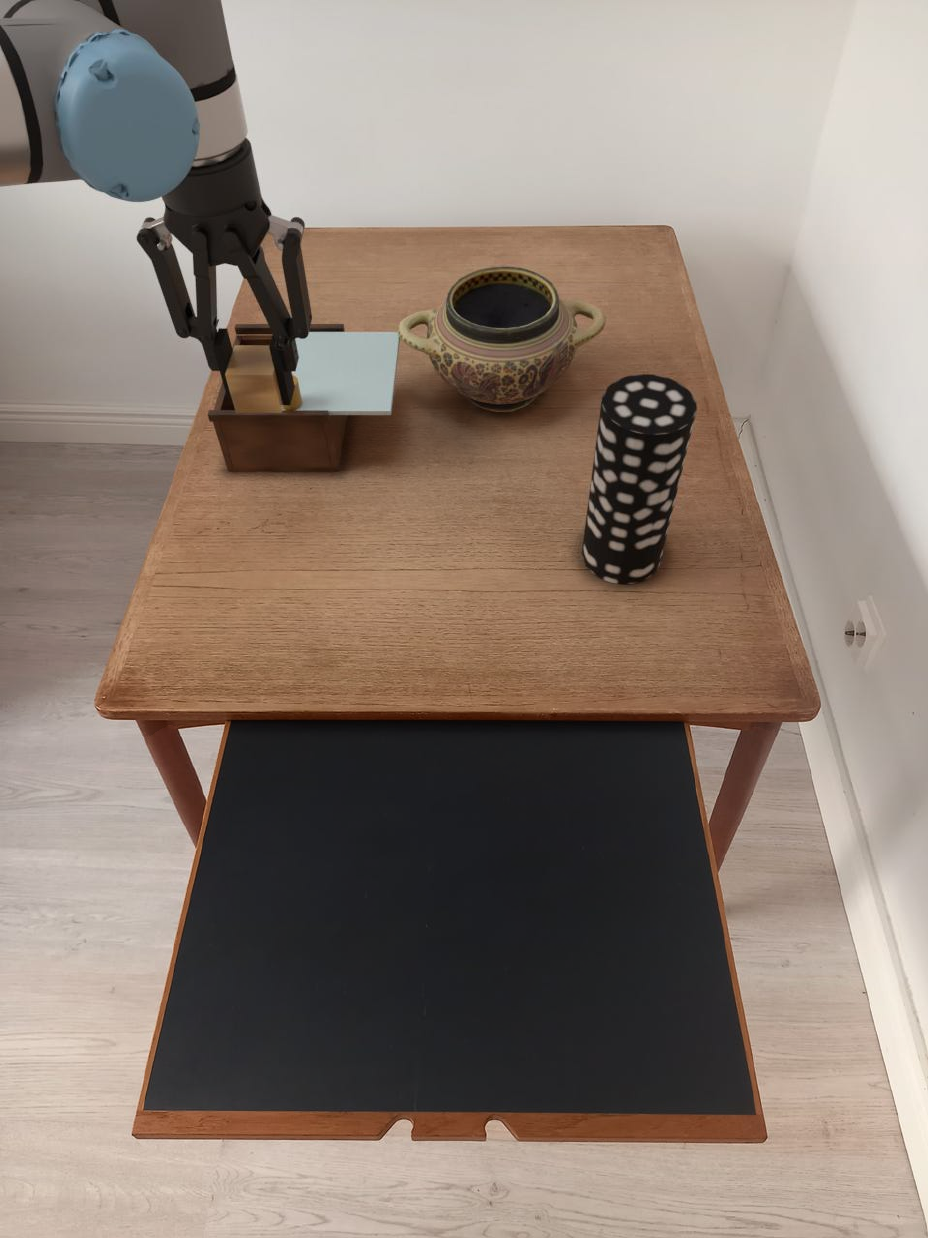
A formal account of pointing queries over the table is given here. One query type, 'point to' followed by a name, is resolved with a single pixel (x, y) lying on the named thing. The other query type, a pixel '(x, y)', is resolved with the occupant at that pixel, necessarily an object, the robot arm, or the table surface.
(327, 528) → the table surface
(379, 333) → the pale blue square panel
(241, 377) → the block
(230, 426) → the wooden box
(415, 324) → the ceramic bowl
